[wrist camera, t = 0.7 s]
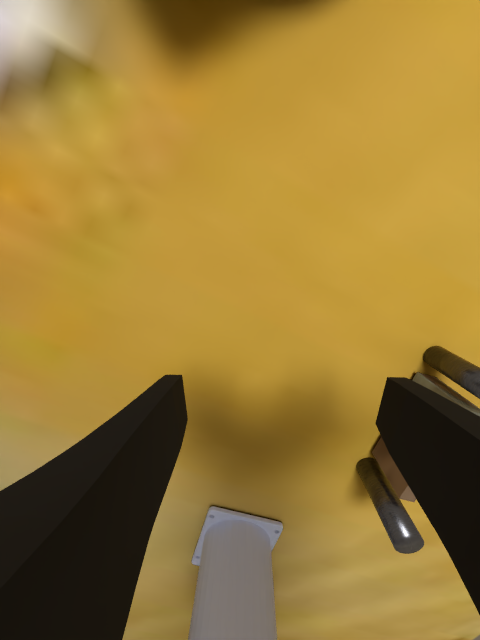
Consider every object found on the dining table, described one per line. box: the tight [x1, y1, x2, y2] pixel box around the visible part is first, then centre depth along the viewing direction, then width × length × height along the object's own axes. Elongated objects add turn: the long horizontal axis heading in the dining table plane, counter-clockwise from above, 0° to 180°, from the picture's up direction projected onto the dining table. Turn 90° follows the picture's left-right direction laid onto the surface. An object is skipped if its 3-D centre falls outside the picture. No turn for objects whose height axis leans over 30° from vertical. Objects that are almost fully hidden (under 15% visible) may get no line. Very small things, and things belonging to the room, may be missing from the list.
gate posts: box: [357, 346, 480, 554], centre depth 17 cm, size 14×2×6 cm, turn 165°
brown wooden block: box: [372, 372, 480, 502], centre depth 18 cm, size 8×2×4 cm, turn 165°
